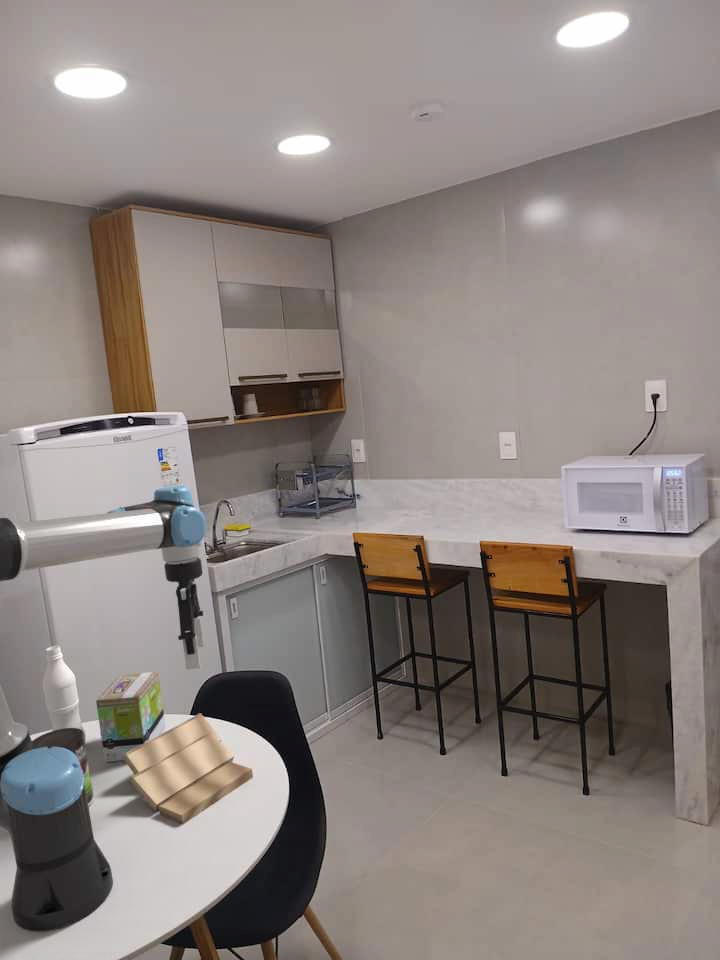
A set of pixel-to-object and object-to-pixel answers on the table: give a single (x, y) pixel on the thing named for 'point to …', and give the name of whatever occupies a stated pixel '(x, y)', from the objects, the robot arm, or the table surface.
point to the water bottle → (61, 692)
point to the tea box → (130, 714)
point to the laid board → (205, 792)
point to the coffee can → (75, 744)
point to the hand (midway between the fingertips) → (195, 657)
